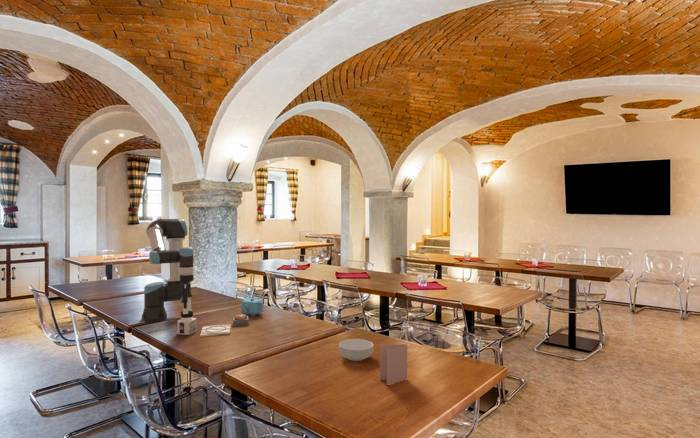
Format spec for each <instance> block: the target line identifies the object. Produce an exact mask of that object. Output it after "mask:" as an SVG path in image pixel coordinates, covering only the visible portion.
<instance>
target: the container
mask: <svg viewBox="0 0 700 438" xmlns="http://www.w3.org/2000/svg"><path fill="white" fill-rule="evenodd" d="M176 322H177V323H176V325H177V326H176V327H177V328H176V329H177V330H176V331H177V332H176V333H177V335H181V336H182V335H183V336H185V335H186V336H191V335H192V334H194V333H196V332H197V331H198V330H197V329H198V327H197V325H198V324H197V318H196V317H194V311H193V310H192V309H188V314H183V310H181V311H180V319H178V320H177V321H176Z"/></svg>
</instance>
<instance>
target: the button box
mask: <svg viewBox="0 0 700 438" xmlns="http://www.w3.org/2000/svg"><path fill="white" fill-rule="evenodd" d="M232 326H233V327H239V326H240V327H242V326H249V315H248V316H246V319H243V320H236V316H233V318H232Z"/></svg>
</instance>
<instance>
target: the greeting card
mask: <svg viewBox="0 0 700 438" xmlns="http://www.w3.org/2000/svg"><path fill="white" fill-rule="evenodd" d="M380 379H387V380H386V386H387V385H390V384H393V383H396V382H399V381H402V380H405V379H407V380H408V344H379V380H380ZM405 381H406V380H405ZM402 382H403V381H402ZM399 383H400V382H399ZM396 384H397V383H396ZM393 385H394V384H393ZM390 386H391V385H390Z"/></svg>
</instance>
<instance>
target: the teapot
mask: <svg viewBox="0 0 700 438" xmlns="http://www.w3.org/2000/svg"><path fill="white" fill-rule="evenodd" d="M240 304H241V314H243V315H246V316H248V317H249V315H251V317H254V318H255V317H256V316H257V315H260V314H261V313H263V311H264V301H263V299H261V296H260V297H258V298H254V297H250V298H247V299H244V300H241V303H240Z"/></svg>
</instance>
